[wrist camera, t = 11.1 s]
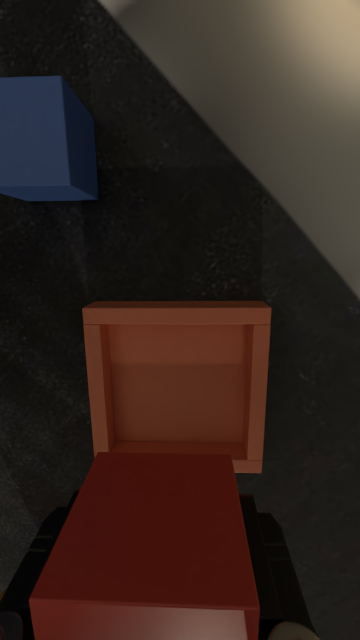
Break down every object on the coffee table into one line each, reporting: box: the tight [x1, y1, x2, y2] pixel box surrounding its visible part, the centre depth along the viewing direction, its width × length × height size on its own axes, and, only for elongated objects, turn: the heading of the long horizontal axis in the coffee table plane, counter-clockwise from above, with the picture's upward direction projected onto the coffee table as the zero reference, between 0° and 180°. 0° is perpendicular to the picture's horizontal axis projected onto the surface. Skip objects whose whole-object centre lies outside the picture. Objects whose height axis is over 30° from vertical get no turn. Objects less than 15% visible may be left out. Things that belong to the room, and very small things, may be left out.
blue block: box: [0, 76, 99, 201], centre depth 16 cm, size 4×4×4 cm
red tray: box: [82, 301, 271, 473], centre depth 20 cm, size 11×11×2 cm
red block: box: [29, 452, 260, 640], centre depth 9 cm, size 4×4×4 cm
